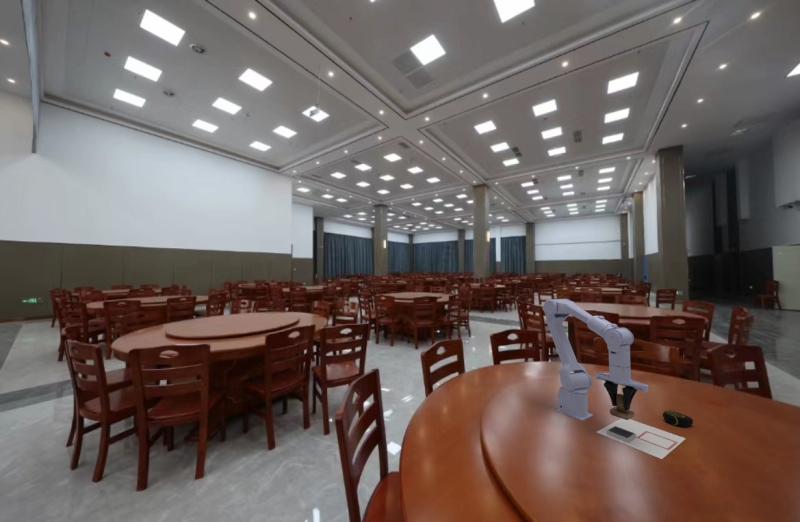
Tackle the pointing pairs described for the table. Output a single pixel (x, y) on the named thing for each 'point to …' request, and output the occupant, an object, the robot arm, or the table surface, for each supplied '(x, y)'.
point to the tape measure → (677, 418)
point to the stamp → (621, 409)
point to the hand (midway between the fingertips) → (620, 407)
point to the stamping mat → (642, 437)
